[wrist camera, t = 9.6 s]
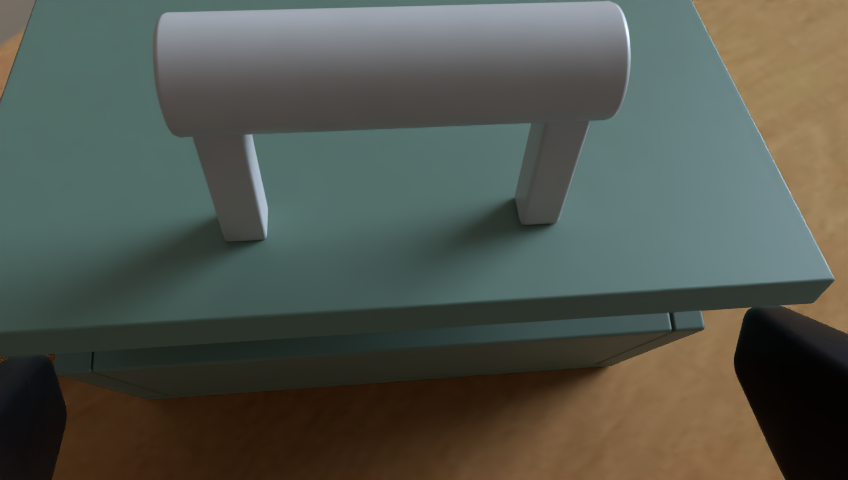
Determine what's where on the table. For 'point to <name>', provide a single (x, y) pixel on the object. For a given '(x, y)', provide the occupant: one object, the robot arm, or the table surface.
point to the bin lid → (377, 171)
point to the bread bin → (375, 356)
